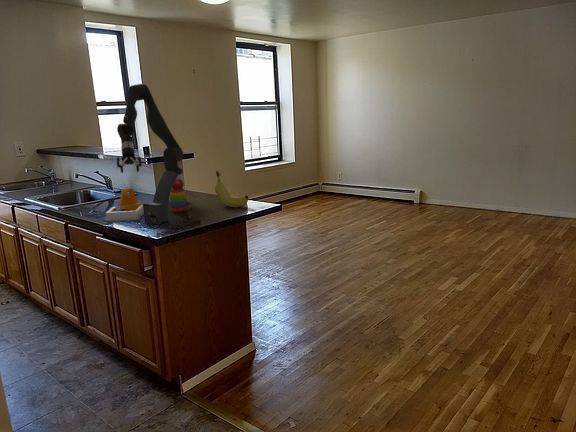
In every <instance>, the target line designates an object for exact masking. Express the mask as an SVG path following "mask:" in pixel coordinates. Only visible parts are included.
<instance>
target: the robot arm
mask: <svg viewBox="0 0 576 432" xmlns="http://www.w3.org/2000/svg"><path fill="white" fill-rule="evenodd" d="M126 99H127V100H126V109H125V112H124V116H123V120H122V121H123V123H119V124H118V125H117V129H116V131H117V133H118V135H119V137H120V143H121V157H118V156H117V157H116V167H117V168H120V173H122V174H123V173H124V167H125V166H126V165H133V166H135V167H136V168H135V169H136V173H138V172H140V167H142V158H141V156H138V157H136V152H135V145H134V138H133V136H134V135H135V134H136V132H135V131H136V130H135V124H136V123H135V122H136V119H137V118H138V110H137V108H136V103H137V101H138V102H139V101H144V103H145V105H146V108H147V112H146V113H147V114H146V119H147V124H148V125H149V127H150V129H151V132H153V133H154V134H155V136H157V137H158V138H159V139H160V140H161V141H162V142H163V143H164V144H165V146H166V148H165V149H164V150H163V154H162V156H163V163H164V169H165V171H170V172H176V173H177V174H178V177H177V179H182V181H183V182H184V175H183V169H182V168H181V167H179V165H178V163H179V162H182V161H183V160H184V151H183V149H182V148H181V146H180V145H179V143H178V142H177V140H176V139H175V138H174V135H173V134H172V132H171V130H170V129H169V127H168V125H167V123H166V121H165V119H164V117H163V116H162V114H161V111H160V110H159V108H158V106H157V103H156V102H155V99H154V98H153V95H152V93H151V90H150V88H149V87H148V85H147V84H146V83H137V84H132V85H130V86H129V87H128V90H127V98H126ZM137 161H138V162H137ZM120 162H121V163H120ZM172 189H173V188H172ZM172 189H171V190H172ZM183 189H184V191H185V192H186V190H185V185H183ZM168 201H170V196H169V200H168Z"/></svg>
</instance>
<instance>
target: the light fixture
mask: <svg viewBox="0 0 576 432" xmlns="http://www.w3.org/2000/svg"><path fill="white" fill-rule="evenodd" d="M177 177H178V174H177V173H176V172H170V171H166V170H165V171H163V174H162V175H161V178H159V179H160V180H159V182H158V184H157V186H156V190H155V191H154V192H155V193H154V195H153V200H152V202H151V203H147V202H143V204H142V205H143V210H144V214H143V216H144V223H146V224H149V225H150V224H151V225H156V226H157V225H158V226H159V225H161V223H166V222H169V201H170V200H169V196H170V192H171V189H172V187H173V184H174V182H175V180H176V179H177Z"/></svg>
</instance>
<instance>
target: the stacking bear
mask: <svg viewBox="0 0 576 432" xmlns="http://www.w3.org/2000/svg"><path fill="white" fill-rule="evenodd" d="M183 185H184V180H183V181H182V179H176V180H175V182H174V184H173V187H172V188H173V189H172V190H171V192H170V200H169V203H170V206H171V208H170V212H174V213H178V212H180V213H181V212H186V211H188V210H191V209H192V206H191V205H188V204H187V202H188V196H187V192H186V190H185V191H184V189H183ZM184 186H185V185H184Z"/></svg>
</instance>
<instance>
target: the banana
mask: <svg viewBox="0 0 576 432" xmlns="http://www.w3.org/2000/svg"><path fill="white" fill-rule="evenodd" d="M215 174H216V175H215V176H216V177H217V180H216V183H215V185H214V192H215V194H216V196H217V197H218V199H219V200H220V201H221V202H222V203H223V204H224V205H226V206H228V207H230V208H241V207H244V206H245V205H247V203H248V201H249V196H248V195H245V194H244V195H241V196H235V195H232V194H231V193H230V192H229V190H227V188H226V186H225V185H224V183H223V182H222V181H221V177H220V176H221V174H220V172H219V171H215Z"/></svg>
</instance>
